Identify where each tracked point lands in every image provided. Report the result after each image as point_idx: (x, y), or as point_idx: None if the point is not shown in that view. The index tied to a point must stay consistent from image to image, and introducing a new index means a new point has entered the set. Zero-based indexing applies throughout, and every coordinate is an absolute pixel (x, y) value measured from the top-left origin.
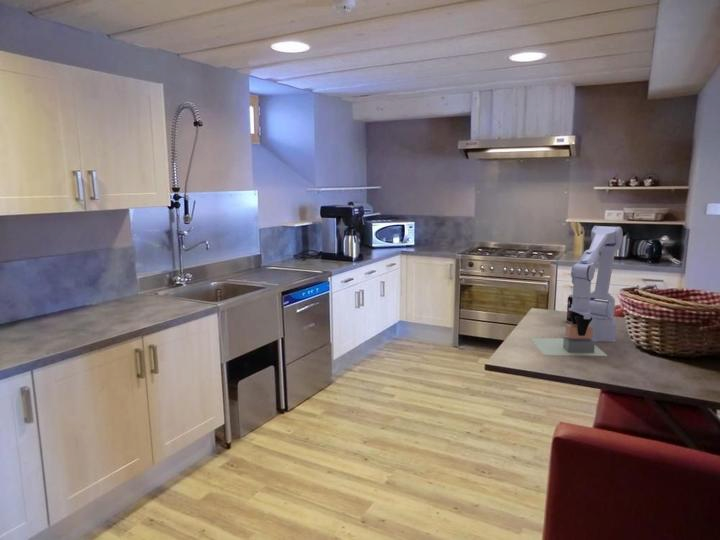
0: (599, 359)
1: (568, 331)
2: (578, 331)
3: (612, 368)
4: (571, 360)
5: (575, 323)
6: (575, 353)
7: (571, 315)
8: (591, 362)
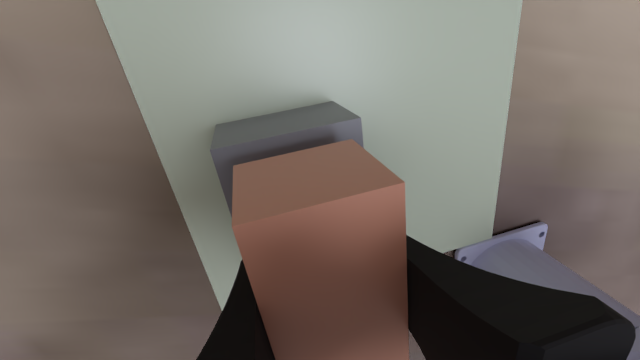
0: (161, 285)
1: (278, 180)
2: (233, 285)
3: (6, 342)
4: (45, 132)
5: (412, 283)
6: (207, 170)
7: (496, 332)
8: (71, 249)
